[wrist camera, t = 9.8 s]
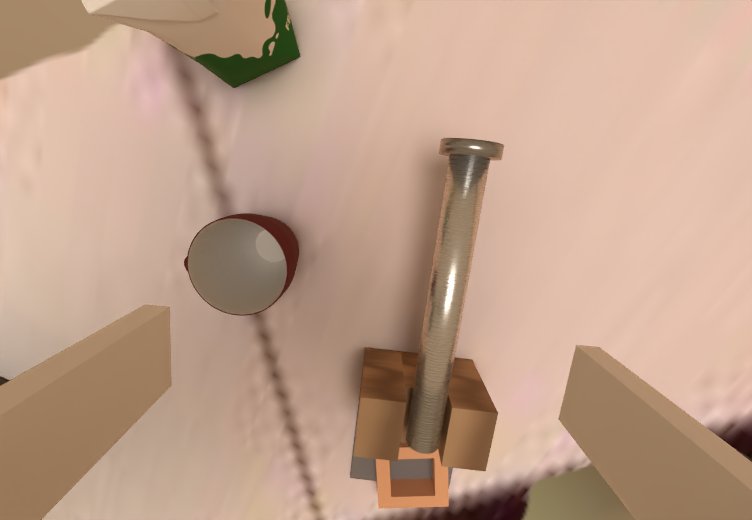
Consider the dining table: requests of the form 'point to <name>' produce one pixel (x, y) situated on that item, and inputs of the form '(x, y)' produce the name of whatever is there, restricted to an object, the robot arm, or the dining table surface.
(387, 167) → the dining table surface
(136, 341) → the robot arm
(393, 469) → the mat
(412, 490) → the frame
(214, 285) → the mug
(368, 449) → the cradle block
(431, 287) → the shaft
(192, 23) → the milk carton
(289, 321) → the dining table surface
